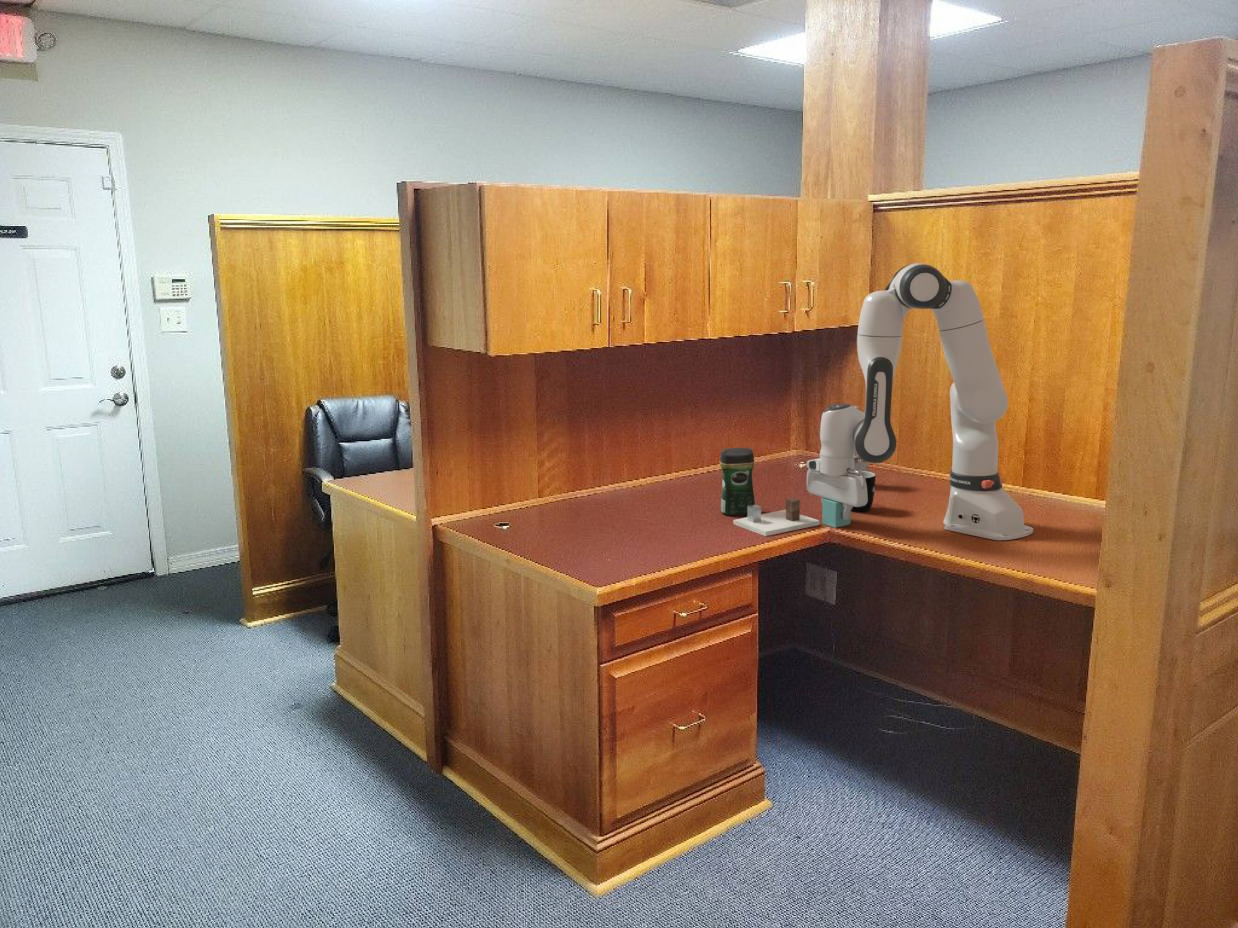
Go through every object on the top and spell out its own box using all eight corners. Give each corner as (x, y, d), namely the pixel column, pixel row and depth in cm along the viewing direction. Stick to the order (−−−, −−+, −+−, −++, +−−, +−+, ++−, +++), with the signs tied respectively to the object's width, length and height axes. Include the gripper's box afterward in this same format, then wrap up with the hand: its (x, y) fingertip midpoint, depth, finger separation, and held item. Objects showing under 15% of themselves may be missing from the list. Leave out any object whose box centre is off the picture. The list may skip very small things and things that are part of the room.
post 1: (761, 521, 261) (761, 506, 260) (753, 522, 259) (753, 508, 258) (755, 518, 263) (755, 504, 262) (747, 520, 262) (747, 506, 261)
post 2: (799, 519, 261) (799, 499, 259) (791, 521, 259) (792, 501, 258) (793, 517, 263) (793, 497, 262) (785, 519, 262) (785, 499, 260)
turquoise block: (850, 524, 259) (850, 500, 257) (835, 527, 256) (835, 503, 255) (836, 520, 263) (837, 496, 262) (822, 523, 261) (822, 499, 259)
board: (819, 524, 259) (819, 520, 259) (765, 536, 251) (765, 531, 251) (785, 513, 271) (785, 509, 271) (733, 524, 263) (733, 519, 263)
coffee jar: (751, 508, 278) (751, 444, 275) (757, 515, 271) (757, 450, 267) (718, 509, 278) (717, 446, 274) (723, 517, 270) (722, 451, 266)
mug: (877, 513, 269) (878, 477, 267) (844, 513, 269) (844, 478, 267) (869, 502, 280) (870, 468, 278) (838, 502, 281) (838, 468, 279)
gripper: (873, 470, 249) (872, 522, 252) (820, 457, 266) (820, 506, 269) (855, 474, 246) (854, 526, 249) (802, 460, 263) (802, 510, 266)
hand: (836, 516), depth 259 cm, fingers closed on turquoise block, 5 cm apart
